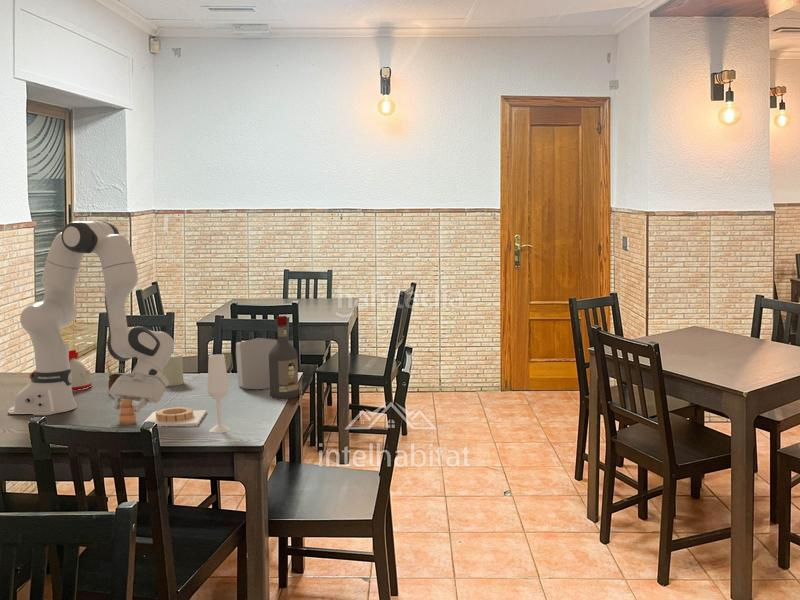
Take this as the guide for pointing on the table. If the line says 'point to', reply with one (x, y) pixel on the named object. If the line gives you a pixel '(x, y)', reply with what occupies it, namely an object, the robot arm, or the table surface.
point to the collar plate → (179, 423)
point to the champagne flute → (217, 386)
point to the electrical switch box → (254, 363)
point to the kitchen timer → (78, 372)
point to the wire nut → (127, 412)
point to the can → (174, 370)
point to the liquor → (283, 365)
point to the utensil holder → (113, 377)
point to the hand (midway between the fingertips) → (125, 410)
